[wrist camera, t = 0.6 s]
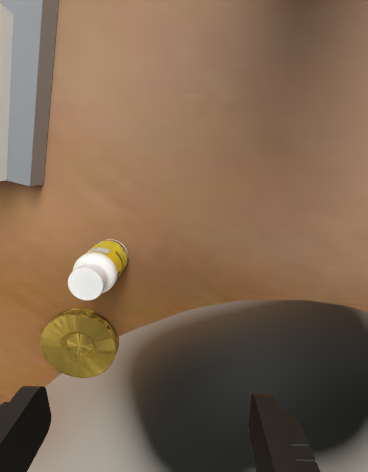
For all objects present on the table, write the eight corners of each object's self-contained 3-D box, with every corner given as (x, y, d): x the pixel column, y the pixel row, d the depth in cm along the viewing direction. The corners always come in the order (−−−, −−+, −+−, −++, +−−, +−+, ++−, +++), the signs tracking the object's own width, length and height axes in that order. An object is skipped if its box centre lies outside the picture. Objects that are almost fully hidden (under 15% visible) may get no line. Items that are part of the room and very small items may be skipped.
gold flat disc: (85, 294, 39) (79, 301, 37) (133, 345, 41) (130, 354, 39) (33, 331, 41) (25, 340, 39) (82, 378, 44) (77, 389, 42)
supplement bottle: (129, 273, 38) (108, 308, 28) (94, 270, 38) (61, 304, 28) (130, 239, 36) (108, 265, 27) (93, 236, 36) (59, 260, 27)
